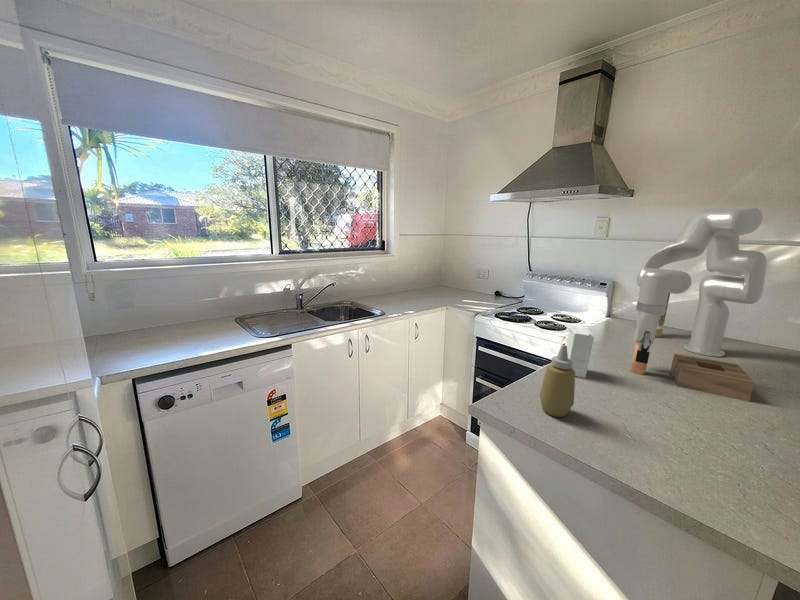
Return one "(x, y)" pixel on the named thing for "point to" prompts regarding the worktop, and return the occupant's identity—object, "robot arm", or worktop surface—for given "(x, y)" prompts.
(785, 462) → the worktop surface
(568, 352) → the skincare box
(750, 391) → the socket block
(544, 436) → the worktop surface
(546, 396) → the squeeze bottle
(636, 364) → the peg
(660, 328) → the brown textured cylinder
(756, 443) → the worktop surface
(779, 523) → the worktop surface
